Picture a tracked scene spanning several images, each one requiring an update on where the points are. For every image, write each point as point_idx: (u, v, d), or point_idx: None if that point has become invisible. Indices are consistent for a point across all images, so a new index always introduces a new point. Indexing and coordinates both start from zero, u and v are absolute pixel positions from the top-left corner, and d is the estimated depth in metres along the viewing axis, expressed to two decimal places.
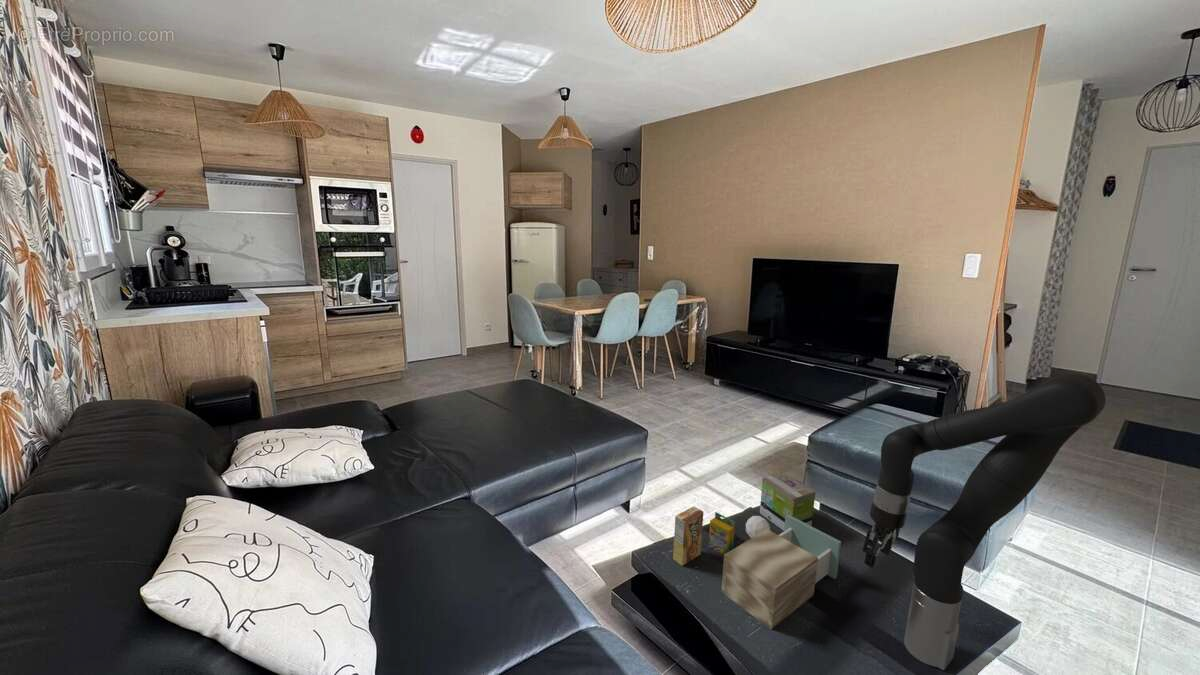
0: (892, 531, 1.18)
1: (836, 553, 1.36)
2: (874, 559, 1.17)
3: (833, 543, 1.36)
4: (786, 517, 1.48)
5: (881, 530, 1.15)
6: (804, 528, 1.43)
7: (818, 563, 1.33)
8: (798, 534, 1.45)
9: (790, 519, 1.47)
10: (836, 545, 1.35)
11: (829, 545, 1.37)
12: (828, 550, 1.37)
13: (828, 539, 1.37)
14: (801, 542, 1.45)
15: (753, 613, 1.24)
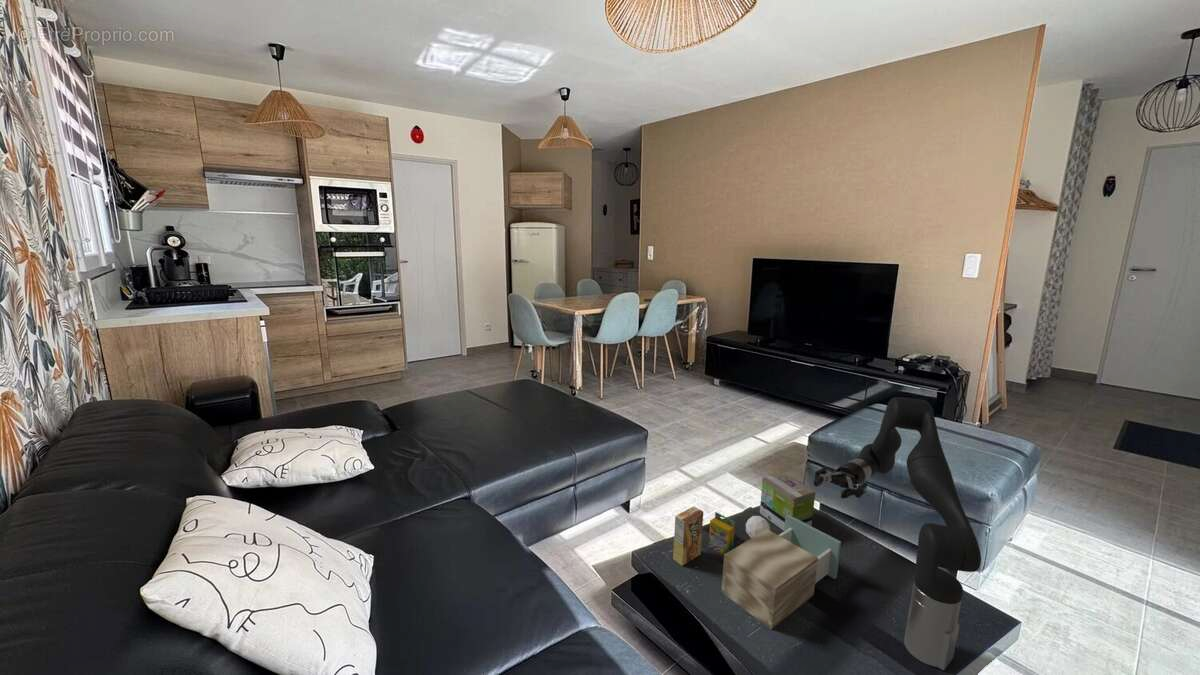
0: None
1: (836, 553, 1.36)
2: (819, 478, 1.49)
3: (833, 543, 1.36)
4: (786, 517, 1.48)
5: None
6: (804, 528, 1.43)
7: (818, 563, 1.33)
8: (798, 534, 1.45)
9: (790, 519, 1.47)
10: (836, 545, 1.35)
11: (829, 545, 1.37)
12: (828, 550, 1.37)
13: (828, 539, 1.37)
14: (801, 542, 1.45)
15: (753, 613, 1.24)
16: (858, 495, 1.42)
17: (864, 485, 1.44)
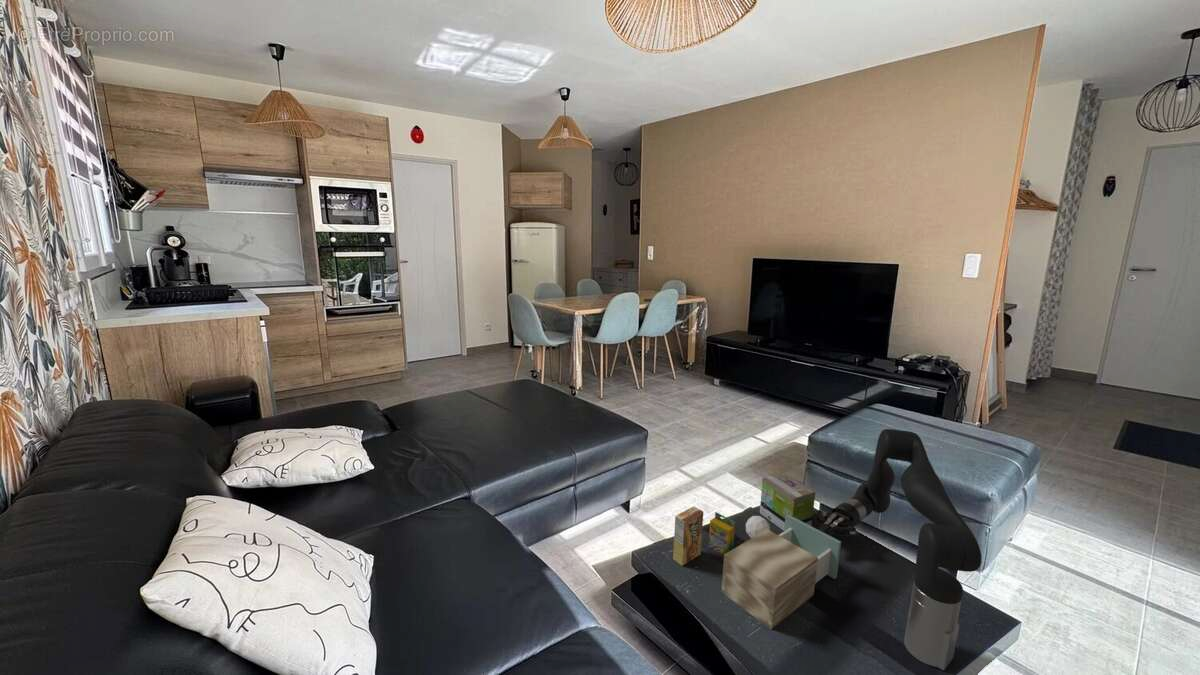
0: None
1: (836, 553, 1.36)
2: (823, 526, 1.48)
3: (833, 543, 1.36)
4: (786, 517, 1.48)
5: None
6: (804, 528, 1.43)
7: (818, 563, 1.33)
8: (798, 534, 1.45)
9: (790, 519, 1.47)
10: (836, 545, 1.35)
11: (829, 545, 1.37)
12: (828, 550, 1.37)
13: (828, 539, 1.37)
14: (801, 542, 1.45)
15: (753, 613, 1.24)
16: (836, 533, 1.47)
17: (851, 528, 1.47)
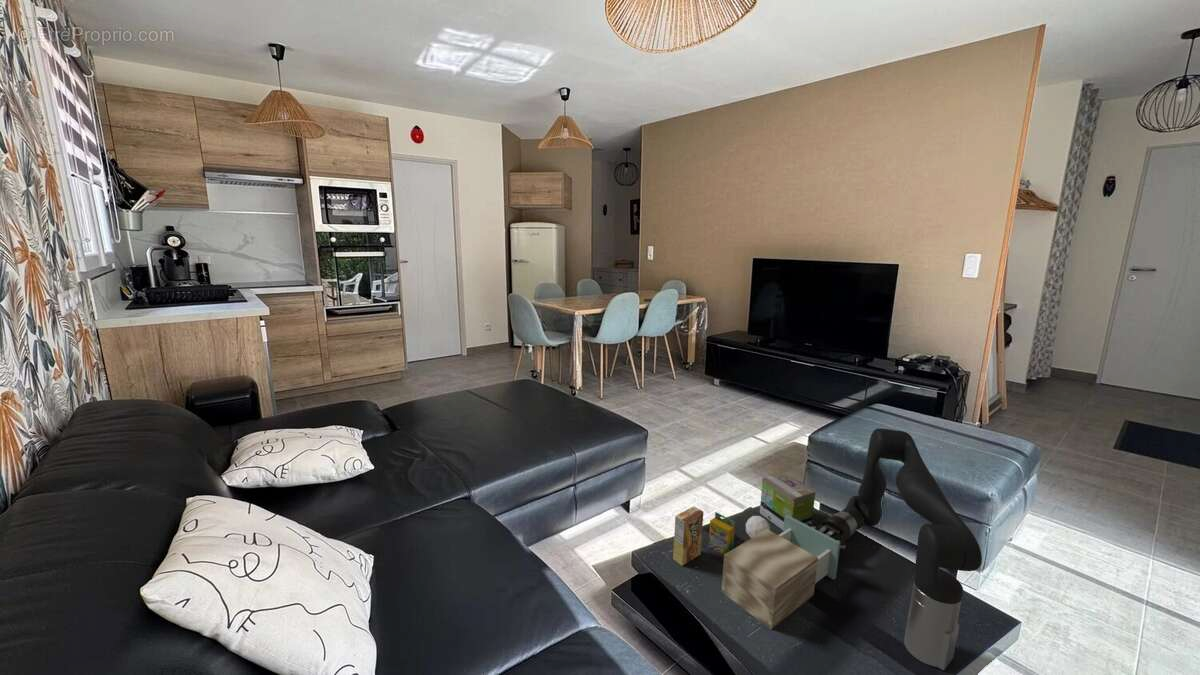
0: None
1: (835, 554, 1.35)
2: None
3: (832, 544, 1.36)
4: (785, 518, 1.48)
5: None
6: (803, 529, 1.43)
7: (817, 564, 1.33)
8: (797, 535, 1.45)
9: (789, 520, 1.47)
10: (835, 546, 1.35)
11: (828, 546, 1.37)
12: (827, 551, 1.36)
13: (827, 540, 1.37)
14: (800, 543, 1.44)
15: (753, 613, 1.24)
16: None
17: (840, 542, 1.43)
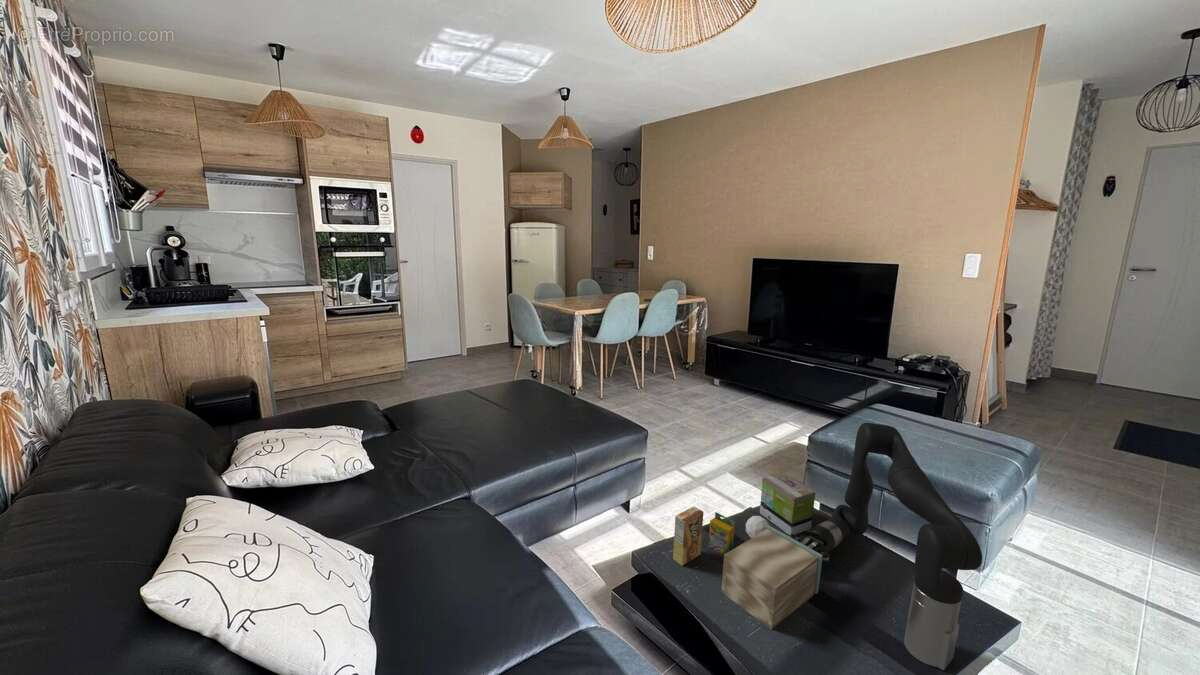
0: None
1: (817, 567, 1.30)
2: None
3: None
4: (767, 528, 1.42)
5: (800, 536, 1.47)
6: None
7: None
8: None
9: None
10: None
11: None
12: None
13: (809, 552, 1.31)
14: None
15: (753, 613, 1.24)
16: None
17: (824, 554, 1.38)
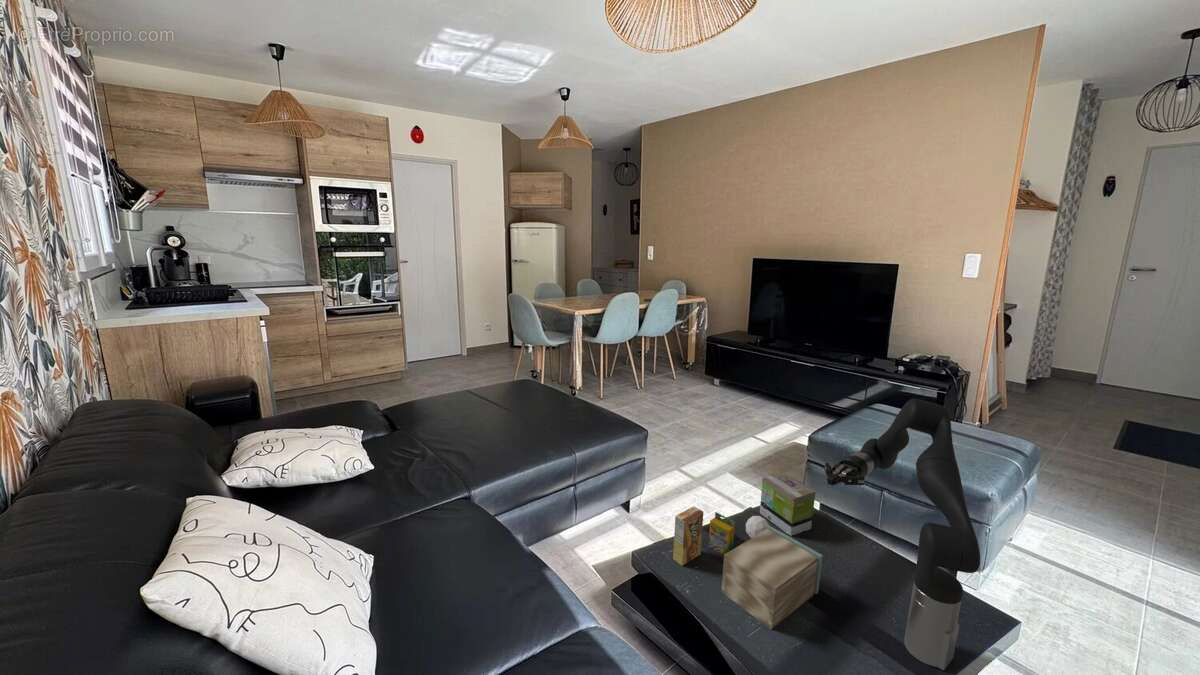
0: None
1: (817, 567, 1.30)
2: (832, 475, 1.46)
3: None
4: (767, 528, 1.42)
5: None
6: None
7: None
8: None
9: (771, 530, 1.41)
10: None
11: None
12: None
13: (809, 552, 1.31)
14: None
15: (753, 613, 1.24)
16: (845, 482, 1.45)
17: (859, 477, 1.45)
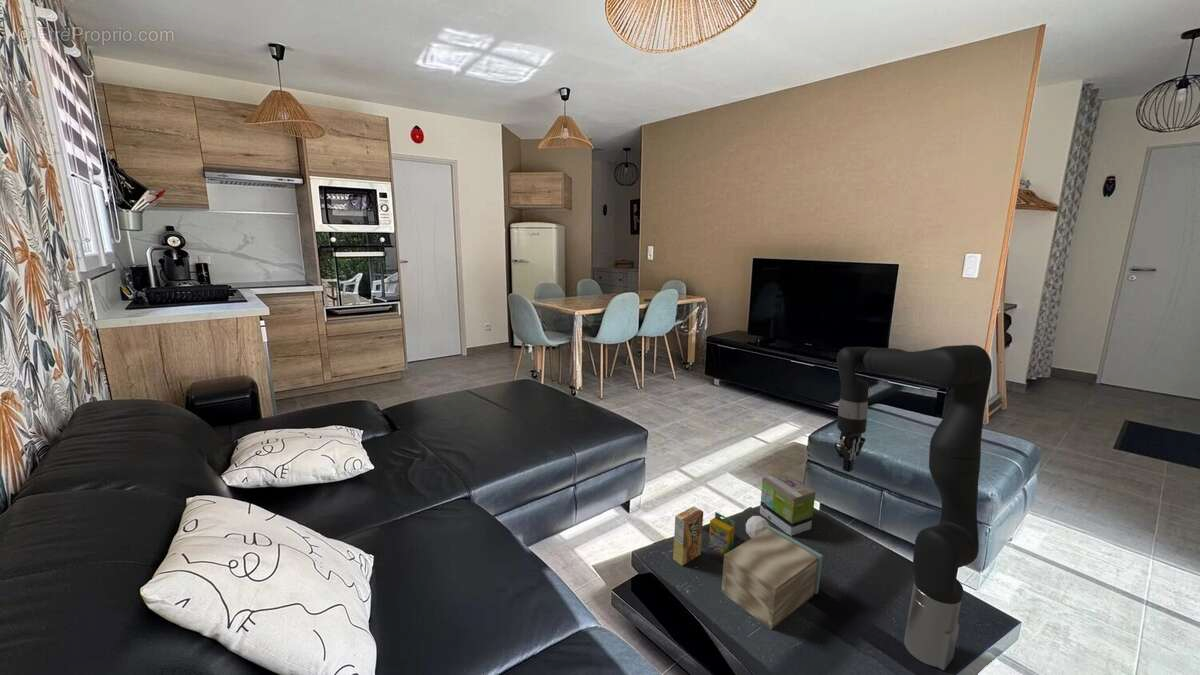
0: (857, 438, 1.37)
1: (817, 567, 1.30)
2: (849, 464, 1.38)
3: None
4: (767, 528, 1.42)
5: (844, 438, 1.35)
6: None
7: None
8: None
9: (771, 530, 1.41)
10: None
11: None
12: None
13: (809, 552, 1.31)
14: None
15: (753, 613, 1.24)
16: None
17: (863, 443, 1.40)
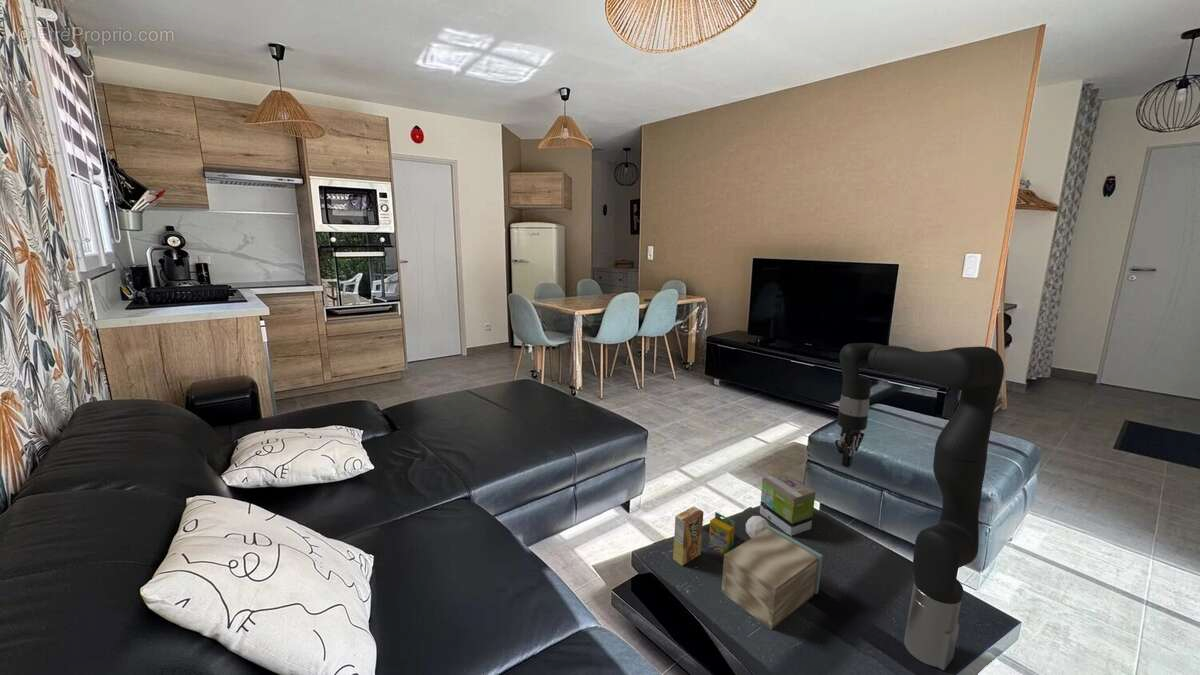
0: (857, 434, 1.36)
1: (817, 567, 1.30)
2: (849, 459, 1.38)
3: None
4: (767, 528, 1.42)
5: (845, 435, 1.34)
6: None
7: None
8: None
9: (771, 530, 1.41)
10: None
11: None
12: None
13: (809, 552, 1.31)
14: None
15: (753, 613, 1.24)
16: None
17: (862, 438, 1.40)
